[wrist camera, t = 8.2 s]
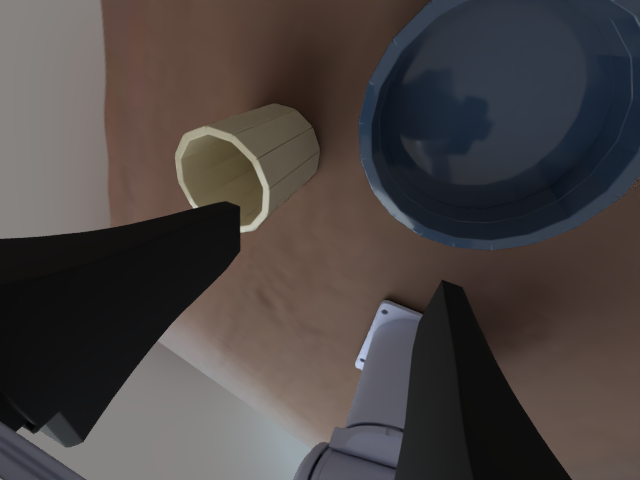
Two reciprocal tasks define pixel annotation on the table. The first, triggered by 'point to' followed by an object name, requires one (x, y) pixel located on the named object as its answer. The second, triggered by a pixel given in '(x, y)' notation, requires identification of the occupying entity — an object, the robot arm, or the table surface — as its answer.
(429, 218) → the big pot
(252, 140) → the small pot
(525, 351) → the table surface
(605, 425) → the table surface
